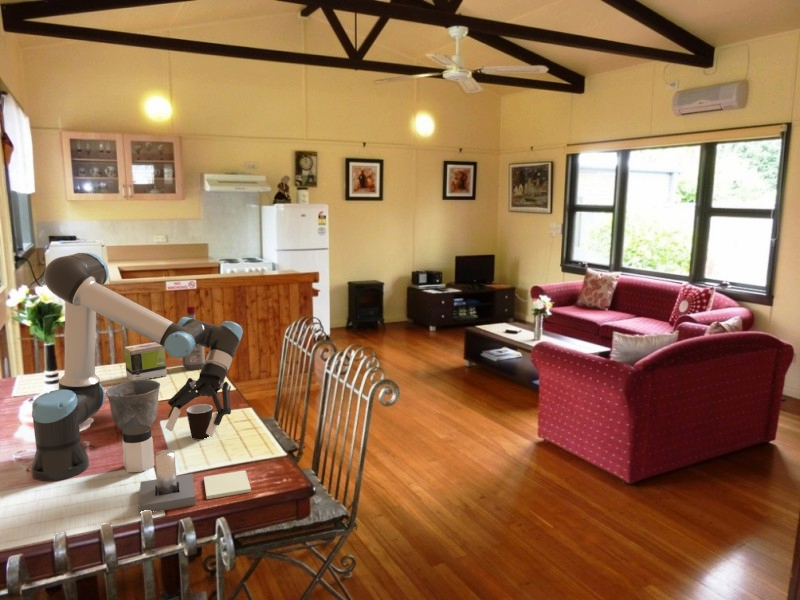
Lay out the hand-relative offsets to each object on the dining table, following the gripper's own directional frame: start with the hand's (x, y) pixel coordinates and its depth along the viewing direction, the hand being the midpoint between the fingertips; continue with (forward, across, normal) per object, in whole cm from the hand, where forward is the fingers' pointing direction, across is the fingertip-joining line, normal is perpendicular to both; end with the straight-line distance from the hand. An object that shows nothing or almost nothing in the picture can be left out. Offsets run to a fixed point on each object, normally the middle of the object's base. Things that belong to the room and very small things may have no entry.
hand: (188, 432), depth 171 cm
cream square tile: (+10, -12, -11) cm, 19 cm away
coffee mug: (-11, +17, -32) cm, 38 cm away
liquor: (-58, +68, -80) cm, 120 cm away
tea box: (-45, +80, -67) cm, 113 cm away
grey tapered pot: (-9, +43, -31) cm, 54 cm away
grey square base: (+18, 0, -3) cm, 18 cm away
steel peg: (+18, 0, -3) cm, 18 cm away
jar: (+9, +21, -13) cm, 26 cm away
